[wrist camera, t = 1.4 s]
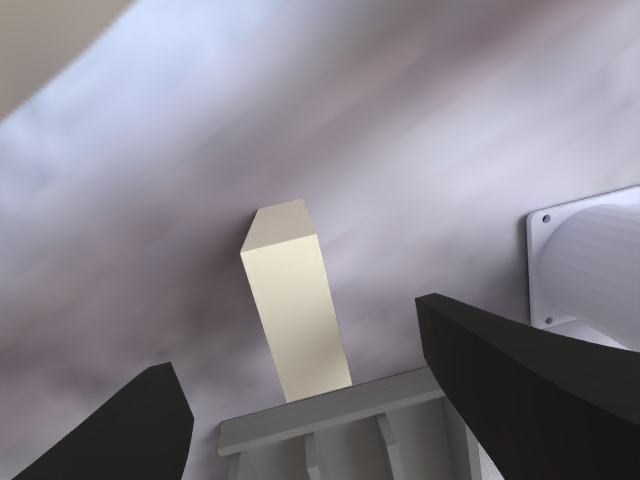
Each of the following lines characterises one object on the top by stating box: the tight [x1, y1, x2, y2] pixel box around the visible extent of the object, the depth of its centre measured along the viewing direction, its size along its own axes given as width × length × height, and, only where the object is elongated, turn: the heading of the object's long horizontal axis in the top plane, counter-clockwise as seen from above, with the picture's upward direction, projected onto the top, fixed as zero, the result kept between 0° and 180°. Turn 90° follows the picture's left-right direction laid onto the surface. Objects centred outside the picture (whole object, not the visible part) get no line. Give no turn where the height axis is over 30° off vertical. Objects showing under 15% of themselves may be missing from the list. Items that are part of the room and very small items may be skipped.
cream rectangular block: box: [240, 199, 352, 403], centre depth 15 cm, size 2×6×8 cm, turn 13°
